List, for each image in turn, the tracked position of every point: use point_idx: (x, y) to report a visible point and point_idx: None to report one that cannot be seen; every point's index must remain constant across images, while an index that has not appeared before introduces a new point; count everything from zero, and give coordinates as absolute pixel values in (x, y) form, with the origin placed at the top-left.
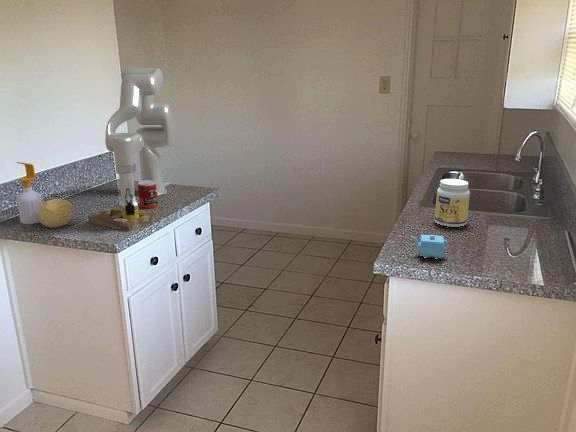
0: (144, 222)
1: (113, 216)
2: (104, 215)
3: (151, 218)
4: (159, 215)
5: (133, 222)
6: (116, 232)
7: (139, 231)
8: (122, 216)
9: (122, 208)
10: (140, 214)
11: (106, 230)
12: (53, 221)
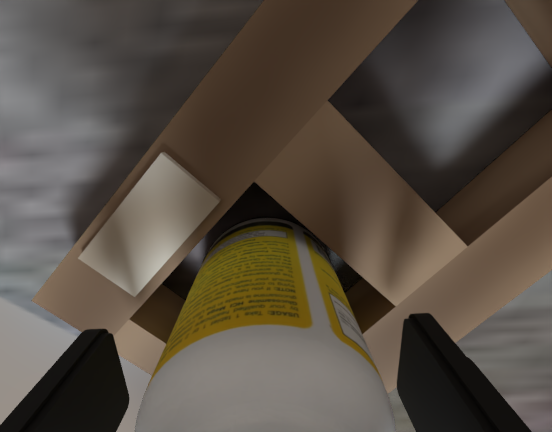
0: None
1: (323, 135)
2: (408, 7)
3: None
4: (400, 429)
5: None
6: (57, 167)
7: (73, 330)
8: (311, 231)
9: (206, 318)
10: None
11: (121, 68)
12: None
